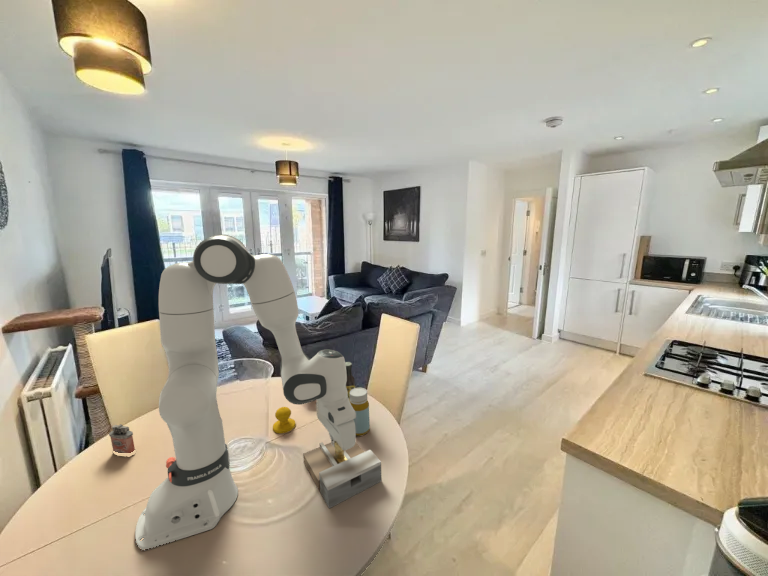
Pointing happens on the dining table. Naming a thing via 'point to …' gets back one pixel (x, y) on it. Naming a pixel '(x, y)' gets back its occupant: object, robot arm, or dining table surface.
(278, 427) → the doorknob
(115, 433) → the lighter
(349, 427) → the robot arm
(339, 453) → the bolt
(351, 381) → the sauce bottle
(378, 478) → the door latch block
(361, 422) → the bottle
